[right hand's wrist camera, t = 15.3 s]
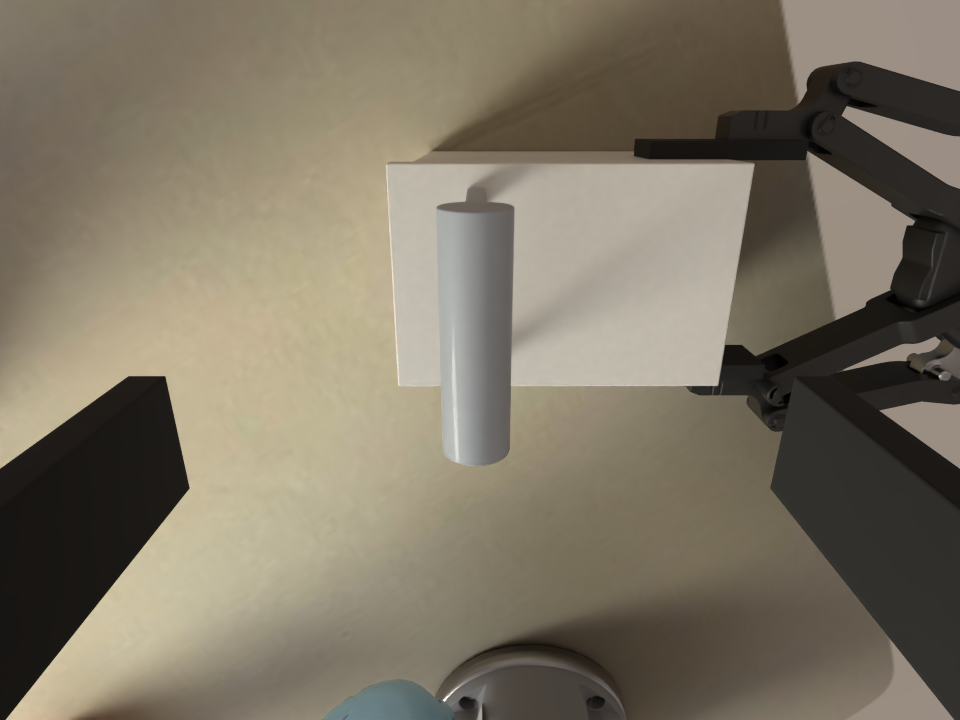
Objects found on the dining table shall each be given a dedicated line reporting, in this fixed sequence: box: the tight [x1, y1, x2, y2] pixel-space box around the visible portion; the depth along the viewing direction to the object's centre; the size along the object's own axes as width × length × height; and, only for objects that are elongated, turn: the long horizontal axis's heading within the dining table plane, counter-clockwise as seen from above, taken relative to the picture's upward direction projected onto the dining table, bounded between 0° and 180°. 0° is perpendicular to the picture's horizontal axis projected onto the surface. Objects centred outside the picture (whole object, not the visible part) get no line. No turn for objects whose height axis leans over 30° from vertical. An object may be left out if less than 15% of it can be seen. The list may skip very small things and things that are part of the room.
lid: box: [386, 162, 755, 466], centre depth 21 cm, size 14×9×8 cm, turn 90°
